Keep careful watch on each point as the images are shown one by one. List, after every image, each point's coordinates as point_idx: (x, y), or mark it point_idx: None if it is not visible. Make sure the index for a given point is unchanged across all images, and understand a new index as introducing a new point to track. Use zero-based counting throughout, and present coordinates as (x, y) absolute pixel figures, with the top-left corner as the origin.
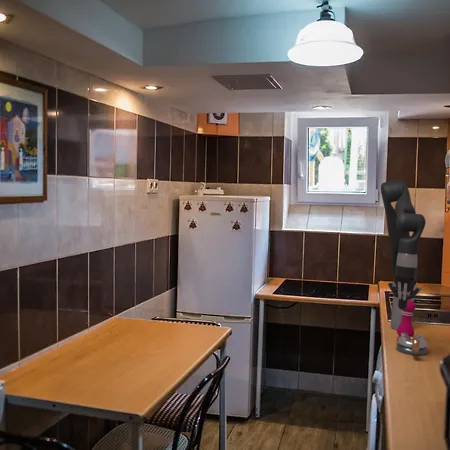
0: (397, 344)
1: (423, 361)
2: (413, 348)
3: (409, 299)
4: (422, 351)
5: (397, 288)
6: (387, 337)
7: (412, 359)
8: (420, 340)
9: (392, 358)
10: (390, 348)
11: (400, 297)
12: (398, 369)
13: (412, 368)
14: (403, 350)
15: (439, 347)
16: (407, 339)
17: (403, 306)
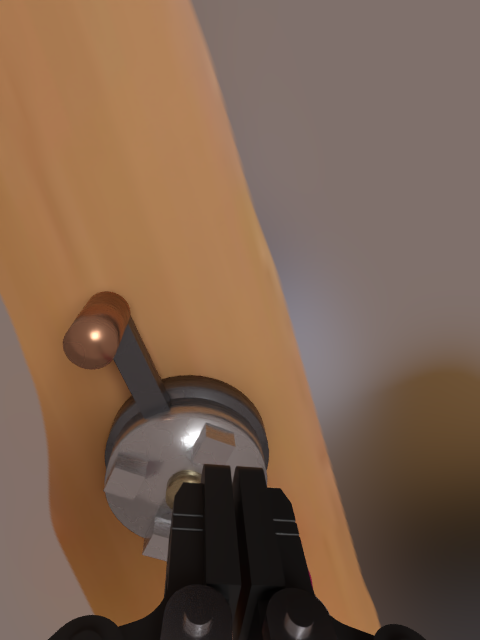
0: (259, 431)
1: (73, 316)
2: (108, 302)
3: (73, 624)
4: (115, 422)
5: None
6: (346, 553)
7: (132, 305)
8: (124, 465)
9: (225, 233)
10: (287, 404)
11: (287, 633)
12: (119, 16)
13: (63, 120)
14: (210, 385)
15: (108, 585)
16: (199, 440)
17: (204, 501)
